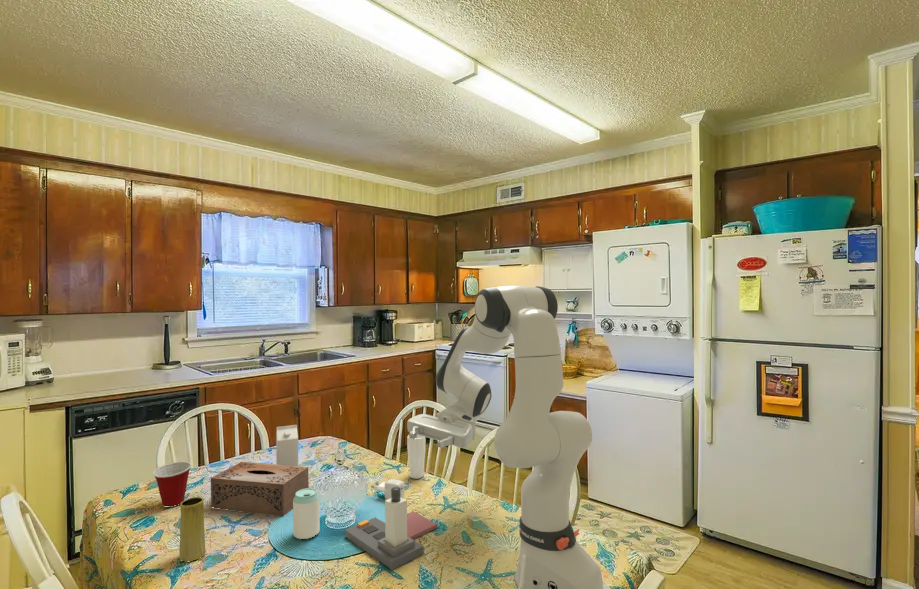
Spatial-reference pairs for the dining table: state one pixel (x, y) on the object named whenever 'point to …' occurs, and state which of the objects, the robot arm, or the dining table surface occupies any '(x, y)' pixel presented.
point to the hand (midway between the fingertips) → (425, 440)
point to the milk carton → (287, 445)
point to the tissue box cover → (258, 487)
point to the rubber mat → (418, 525)
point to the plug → (395, 519)
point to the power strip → (382, 544)
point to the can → (306, 514)
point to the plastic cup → (172, 482)
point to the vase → (192, 529)
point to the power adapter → (388, 485)
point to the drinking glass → (416, 456)
